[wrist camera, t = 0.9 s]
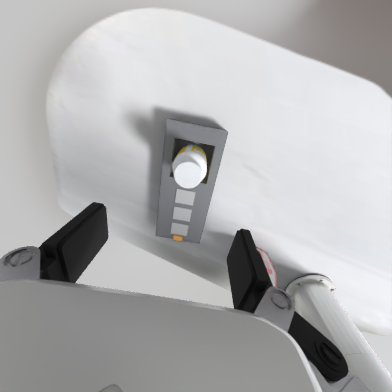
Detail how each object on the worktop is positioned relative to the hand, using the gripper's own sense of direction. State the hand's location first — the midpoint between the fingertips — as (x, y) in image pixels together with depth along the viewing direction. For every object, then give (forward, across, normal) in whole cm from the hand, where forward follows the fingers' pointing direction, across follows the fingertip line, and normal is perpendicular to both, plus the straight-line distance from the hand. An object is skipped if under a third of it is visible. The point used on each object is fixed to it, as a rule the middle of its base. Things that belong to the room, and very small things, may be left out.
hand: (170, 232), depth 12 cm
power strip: (+22, 0, +6) cm, 23 cm away
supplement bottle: (+22, 0, 0) cm, 22 cm away
